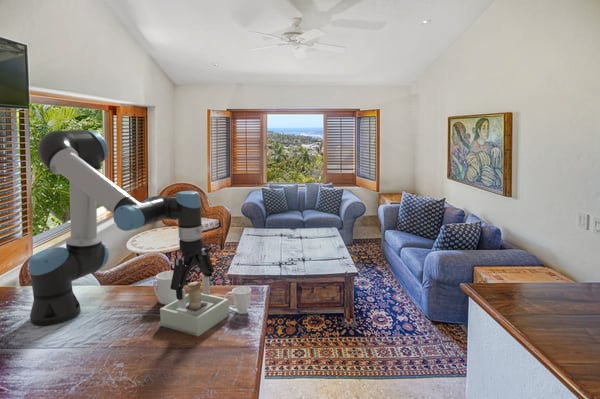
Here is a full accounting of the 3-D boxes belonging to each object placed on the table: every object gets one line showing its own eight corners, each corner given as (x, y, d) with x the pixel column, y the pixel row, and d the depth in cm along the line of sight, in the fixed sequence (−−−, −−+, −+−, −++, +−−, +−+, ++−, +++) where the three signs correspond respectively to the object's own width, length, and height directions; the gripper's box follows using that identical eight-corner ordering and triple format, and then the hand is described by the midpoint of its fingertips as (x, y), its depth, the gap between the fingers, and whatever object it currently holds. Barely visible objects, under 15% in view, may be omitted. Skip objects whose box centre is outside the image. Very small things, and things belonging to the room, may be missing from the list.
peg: (187, 318, 134) (185, 285, 132) (195, 313, 138) (193, 281, 135) (196, 321, 132) (194, 287, 130) (204, 316, 136) (202, 283, 134)
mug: (172, 293, 157) (171, 269, 155) (187, 299, 152) (185, 273, 150) (148, 303, 148) (145, 277, 147) (162, 309, 143) (160, 282, 141)
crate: (161, 325, 132) (159, 308, 131) (194, 306, 146) (193, 291, 145) (198, 336, 125) (197, 318, 124) (229, 315, 139) (228, 298, 138)
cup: (250, 315, 138) (249, 294, 136) (222, 315, 139) (220, 293, 137) (254, 306, 145) (253, 286, 143) (227, 306, 145) (226, 285, 144)
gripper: (173, 249, 118) (178, 317, 122) (222, 231, 139) (225, 289, 143) (154, 246, 121) (160, 312, 125) (205, 228, 142) (208, 286, 146)
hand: (194, 300), depth 134 cm, fingers open, 11 cm apart
